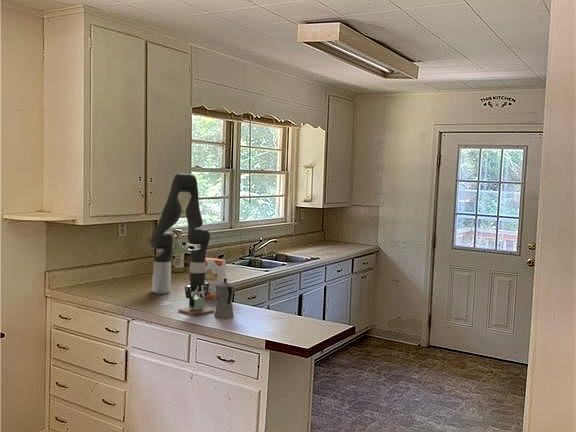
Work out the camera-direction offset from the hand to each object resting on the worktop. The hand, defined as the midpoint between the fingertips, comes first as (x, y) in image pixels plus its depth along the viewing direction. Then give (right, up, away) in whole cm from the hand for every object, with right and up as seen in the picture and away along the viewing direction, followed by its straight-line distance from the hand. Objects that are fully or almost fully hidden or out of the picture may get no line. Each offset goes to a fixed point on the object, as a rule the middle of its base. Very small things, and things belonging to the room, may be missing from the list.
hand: (196, 305), depth 274 cm
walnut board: (0, -3, 0) cm, 3 cm away
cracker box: (+2, -1, +32) cm, 33 cm away
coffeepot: (+14, -4, -6) cm, 16 cm away
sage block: (0, -1, 0) cm, 1 cm away
